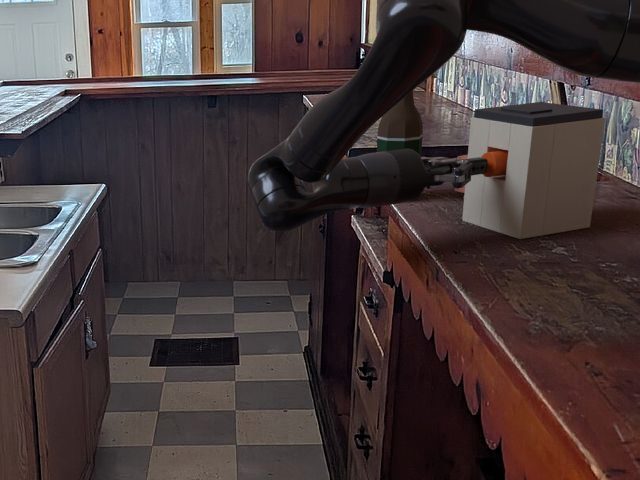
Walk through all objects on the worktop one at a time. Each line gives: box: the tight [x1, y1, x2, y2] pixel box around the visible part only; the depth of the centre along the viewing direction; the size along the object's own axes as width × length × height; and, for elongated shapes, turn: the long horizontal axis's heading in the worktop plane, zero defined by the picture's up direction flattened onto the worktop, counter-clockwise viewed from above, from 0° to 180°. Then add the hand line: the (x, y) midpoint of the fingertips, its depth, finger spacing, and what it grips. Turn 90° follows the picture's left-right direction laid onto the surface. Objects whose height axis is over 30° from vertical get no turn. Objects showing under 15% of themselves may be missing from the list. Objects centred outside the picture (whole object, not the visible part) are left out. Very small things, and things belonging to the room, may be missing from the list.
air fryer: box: [461, 101, 606, 240], centre depth 130 cm, size 13×13×18 cm
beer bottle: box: [376, 90, 424, 157], centre depth 149 cm, size 8×8×24 cm
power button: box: [481, 150, 508, 177], centre depth 128 cm, size 4×4×4 cm
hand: (483, 165), depth 127 cm, fingers closed
